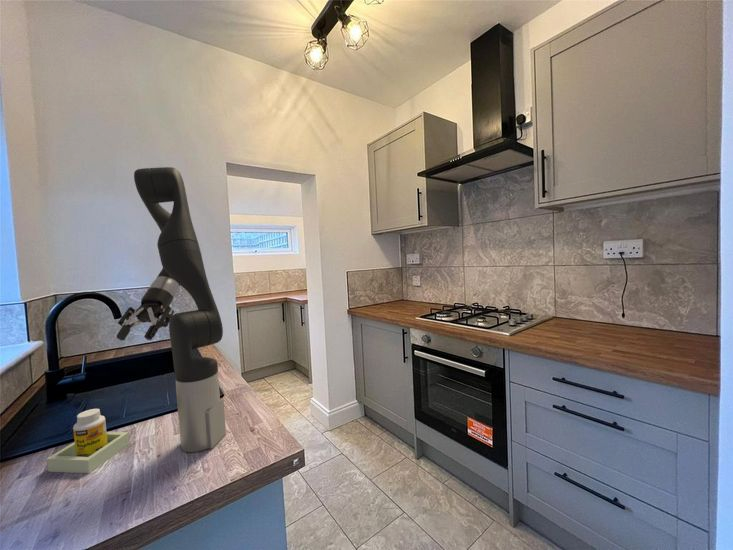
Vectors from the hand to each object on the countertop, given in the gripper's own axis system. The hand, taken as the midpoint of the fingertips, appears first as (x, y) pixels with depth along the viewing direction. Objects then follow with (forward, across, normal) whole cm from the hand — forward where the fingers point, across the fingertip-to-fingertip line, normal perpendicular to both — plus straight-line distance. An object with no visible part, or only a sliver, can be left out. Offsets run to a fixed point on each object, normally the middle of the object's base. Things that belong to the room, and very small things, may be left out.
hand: (133, 339), depth 85 cm
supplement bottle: (+28, +2, +5) cm, 28 cm away
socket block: (+28, +2, +5) cm, 29 cm away
